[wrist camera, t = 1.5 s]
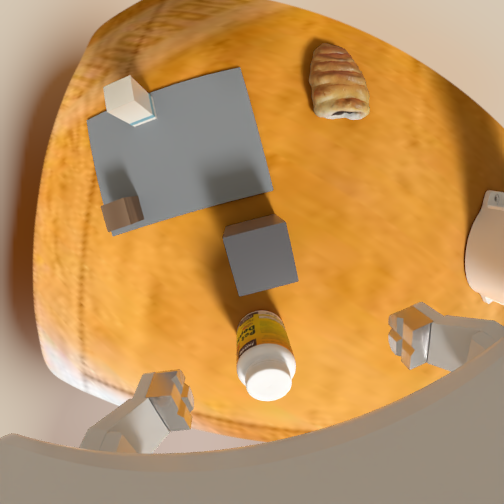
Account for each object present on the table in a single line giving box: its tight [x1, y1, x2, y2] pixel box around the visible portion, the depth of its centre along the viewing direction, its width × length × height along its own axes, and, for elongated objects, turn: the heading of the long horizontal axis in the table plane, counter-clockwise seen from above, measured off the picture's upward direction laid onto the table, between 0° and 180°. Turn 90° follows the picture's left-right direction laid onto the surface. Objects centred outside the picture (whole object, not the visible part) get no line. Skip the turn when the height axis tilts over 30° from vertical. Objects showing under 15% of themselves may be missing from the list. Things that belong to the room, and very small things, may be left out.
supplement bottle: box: [237, 310, 296, 401], centre depth 27 cm, size 6×6×10 cm
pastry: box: [309, 43, 370, 120], centre depth 24 cm, size 9×7×4 cm
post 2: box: [101, 196, 144, 232], centre depth 25 cm, size 3×3×4 cm
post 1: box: [103, 75, 157, 127], centre depth 21 cm, size 3×3×7 cm
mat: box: [87, 67, 273, 236], centre depth 26 cm, size 18×14×1 cm
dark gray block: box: [223, 214, 298, 297], centre depth 26 cm, size 5×5×7 cm
